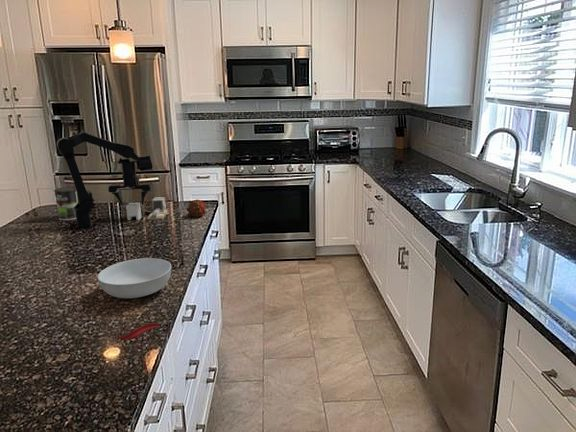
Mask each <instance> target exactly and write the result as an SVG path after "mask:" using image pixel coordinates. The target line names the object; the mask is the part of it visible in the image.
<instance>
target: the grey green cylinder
mask: <svg viewBox="0 0 576 432" xmlns="http://www.w3.org/2000/svg"><path fill="white" fill-rule="evenodd" d="M53 192H54V197H55V202H56V209H57V214H58V220H59V221H72V220H73V221H74V220H76V212H75V209H74V207H75V206H76V204H77V203H78V198H77V191H76V187H75V186H66V187H65V186H63V187H58V188H56V189H54V190H53Z"/></svg>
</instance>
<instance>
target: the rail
mask: <svg viewBox="0 0 576 432" xmlns="http://www.w3.org/2000/svg"><path fill="white" fill-rule="evenodd" d="M151 201H152V211H151V212H150V213H149V215H148V216H147V217H146V221H161V220H164V218H165V217H166V215H167V213H169V208H166V207H167V205H166V197H165V196H164V197H162V196H161V197H160V196H159V197H157V196H156V197H154V198H153V199H152V200H151Z"/></svg>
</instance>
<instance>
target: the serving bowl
mask: <svg viewBox="0 0 576 432" xmlns="http://www.w3.org/2000/svg"><path fill="white" fill-rule="evenodd" d="M171 274H172V264H171V262H170V261H167V260H165V259H161V258H154V257H153V258H152V257H143V258H142V257H141V258H135V259H128V260H124V261H121V262H117V263H114V264H112V265H109V266H107V267H106V268H104V269H102V270H101V271H100V272H99V273H98V275H97V277H96V278H97V281H98V284H99V286H100V287H101V289H102V290H103V291H104V293H106V294H107V295H110V296H112V297H115V298H118V299H137V298H143V297H146V296H149V295H152V294H154V293H156V292H159V291H160V290H161V289H162V288H164V287H165V286H166V285H167V283H168V282H169V280H170V279H171Z"/></svg>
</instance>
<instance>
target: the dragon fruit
mask: <svg viewBox="0 0 576 432" xmlns="http://www.w3.org/2000/svg"><path fill="white" fill-rule="evenodd" d="M206 210H207V205H206V203H205V202H204V201H202V200H201V199H195V200H193V201H190V203H189V204H188V207H187V208H186V211H187V212H188V214H190V216H192V217H197V218H199V217H201V216H204V215H205V214H206V212H207V211H206Z"/></svg>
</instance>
